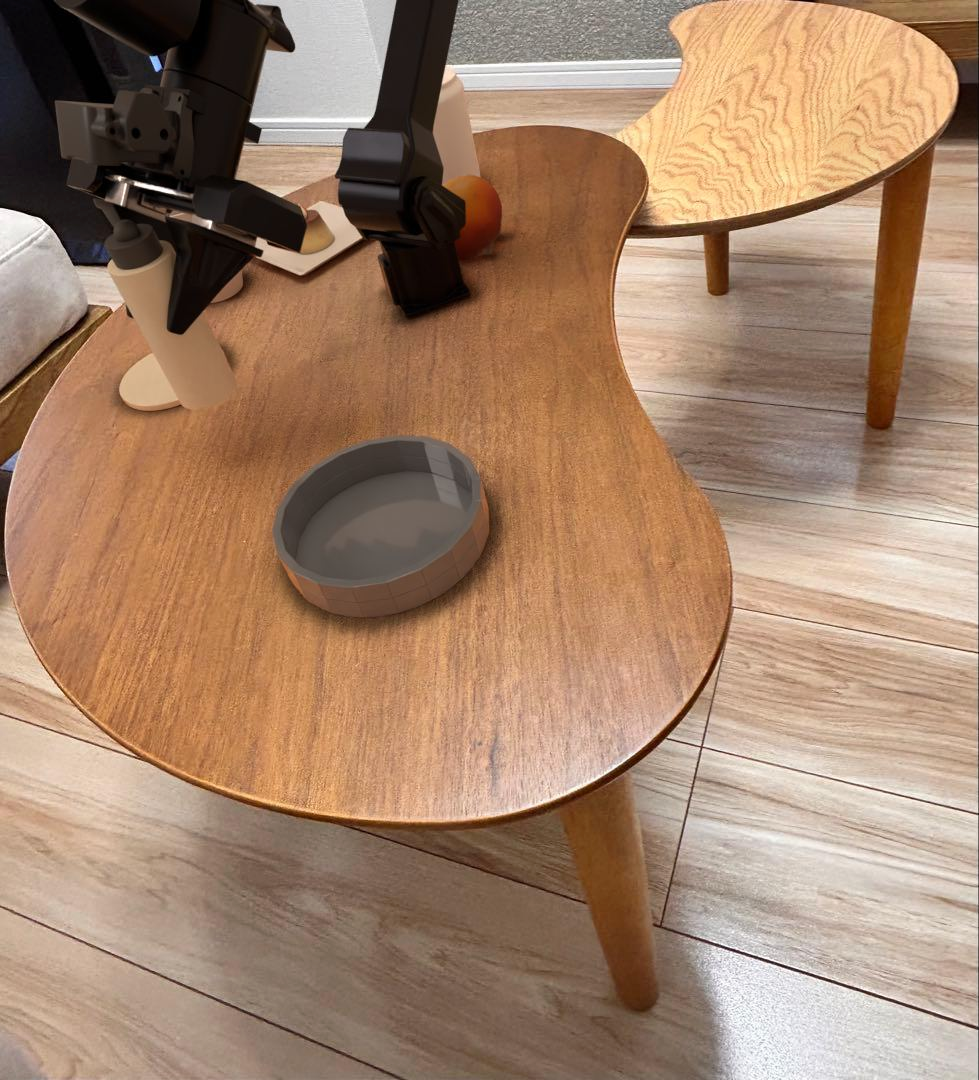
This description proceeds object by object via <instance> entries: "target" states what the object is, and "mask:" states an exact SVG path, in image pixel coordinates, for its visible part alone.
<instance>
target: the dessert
mask: <svg viewBox="0 0 979 1080" xmlns="http://www.w3.org/2000/svg"><path fill="white" fill-rule="evenodd" d="M295 204H296V205H298V206H300V207H301V209H302V212H303V215H304V218H305V220H306V223H307V229H306V233H305V236H304V240H303V244H302V248H301V252H300V254H299V253H295V252H291V251H287V250H283V249H279V248H275V247H272V246H270V245H268V244H267V241H266V240H263V239H261V238H258V237H257V241H256V245H255V247H256V248H259V249H261V250H263V251H264V252H263V255H262V257H261V258H260V257H255V258H256V259H259V260H261V261H264V262H266V263H268V264H270V265H272V266H276V267H278V268H281V269H283V270H285V271H288V272H290V273H293V274H296V275H298V276H306V275H308V274H310V273H312V272H314V271H315V270H317V269H319V268H320V267H322V266H323V265H325V264H326V263H328V262H329V261H331V260H333V259H334V258H336V257H338V256H339V255H341V254H343V253H344V252H346V251H347V250H349V249H350V248H353V247H354V246H356V245H357V244H358V243H360V242H362V241H364V239H363V238H362V236H361V235H360V233H359V232H358V230H357V229H356V227H355V226H353V225H352V224H351V223H350V222H349V221H348V219H347V218H346V216H345V213H344V210H343V208H342V206H340V205H336V204H333V203H329V202H326V201H323V200H320V201H317V202H316V203H314V204H313V205H311V206H309V207H305V206H302V205H301V203H297V202H295Z"/></svg>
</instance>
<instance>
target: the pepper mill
mask: <svg viewBox="0 0 979 1080" xmlns="http://www.w3.org/2000/svg"><path fill="white" fill-rule="evenodd" d="M104 247H105V249H106V251H107V252H108V255H109V256H110V258H111V259H110V261H109V262H108V264H107V267H106V269H107V272H108V274H109V276H110V278H111V279H112V281H113V284H114V285H115V287H116V288H117V291H118V292H119V294H120V296H121V297H122V300H123V301H124V304H125V306H126V305H127V307H128V309H129V310H130V312H131V314H132V316H133V318H134V319H133V318H132V319H133V320H134V321H135V323H136V325H137V328H138V329H139V330H140V332H141V334H142V336H143V338H144V340H145V341H146V343H147V345H148V347H149V349H150V350H151V353H153V354H154V356H155V358H156V360H157V361H158V363H159V365H160V367H161V369H162V370H163V372H164V374H165V376H166V378H167V380H168V381H169V383H170V385H171V387H172V389H173V391H174V392H175V394H176V396H177V398H178V400H179V401H180V403H181V405H180V406H182V407H183V408H185V409H186V410H189V411H200V410H202V411H203V410H206V409H210V408H213V407H215V406H218V405H219V404H221V403H223V402H224V401H226V400H227V399H228V398H230V397H231V396H232V395H233V394H234V392H235V391H236V389H237V386H238V380H237V379H236V376H235V374H234V372H233V370H232V368H231V366H230V364H229V362H228V359H227V357H225V356H226V354H225V352H224V350H223V349H222V347H221V345H220V343H219V341H218V339H217V337H216V335H215V333H214V330H213V328H212V326H211V324H210V322H209V320H208V318H207V316H206V313H205V312H204V311H203V312H202V313H201V314H200V316H199V317H198V318H197V319H196V320H195V321H194V323H193V324H192V325H191V326H190V327H189V328H188V329H187V331H186V332H185V333H184V334H183V335H178V334H174V333H171V332H168V330H167V316H168V305H169V299H170V292H171V285H172V279H173V272H174V266H175V259H176V253H175V251H174V249H173V247H172V245H171V244H170V243H169V242H167V241H162V240H159V239H158V237H157V235H156V233H155V231H154V229H153V227H152V226H151V225H149V224H135V223H134V222H133V221H130V220H121V221H119V222H117V223H116V225H115V226H114V227H113V233H112V234H110V235H109V236H108V237H107V238H106V239H105V241H104ZM222 350H223V351H222ZM223 352H224V353H223ZM224 354H225V355H224Z"/></svg>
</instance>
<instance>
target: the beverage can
mask: <svg viewBox="0 0 979 1080" xmlns="http://www.w3.org/2000/svg"><path fill="white" fill-rule="evenodd" d="M464 87H465V86H464V84H463V81H462V79H460V77H459V76H457V71H456V69H455V68H454V67H451V66H449V65H446V66H445V71H444V76H443V81H442V86H441V91H440V96H439V101H438V106H437V111H436V116H435V121H434V127H433V135H434V139H435V142H436V145H437V148H438V151H439V154H440V158H441V161H442V164H443V168H444V170H443V180H442V186H444V185H445V184H446V183H448V182H449V181H450V180H452V179H454V178H457V177H460V176H466V175H475V176H478V177H481V172H480V171H481V170H480V167H479V161H478V157H477V150H476V145H475V139H474V135H473V129H472V125H471V119H470V113H469V108H468V102H467V98H466V92H465V88H464ZM481 178H482V177H481Z"/></svg>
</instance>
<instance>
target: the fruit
mask: <svg viewBox="0 0 979 1080" xmlns="http://www.w3.org/2000/svg"><path fill="white" fill-rule="evenodd" d="M444 187H445V188H447V189H448V190H450V191H452V192H453V193H455V194H456V195H458V196H459V197H461V198H462V199H464V200H465V202H466V225H465V226H464V227H463V228H462V229H461V230H460V236H461V237H460V238H459V239H458V240H456V241H455V246H456V250H457V255H458V259H459V262H462V261H469V260H473V259H475V258H478V257H480V256H485V255H491V256H493V247H494V244H495V242H496V239H497V237H504V238H506V237H507V235H506V234H504V233H501V231H502V230H501V229H502V218H503V206H502V201H501V198H500V196H499V194H498V192H497V190H496V188H495V187H494V186H493V185H492V184H491V183H490V182H488V181H487V180H485V179H484V178H483V177H478V176H475V175H466V176H460V177H457V178H454V179H452V180H450V181H449V182H448V183H446V184H445V185H444Z"/></svg>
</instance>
